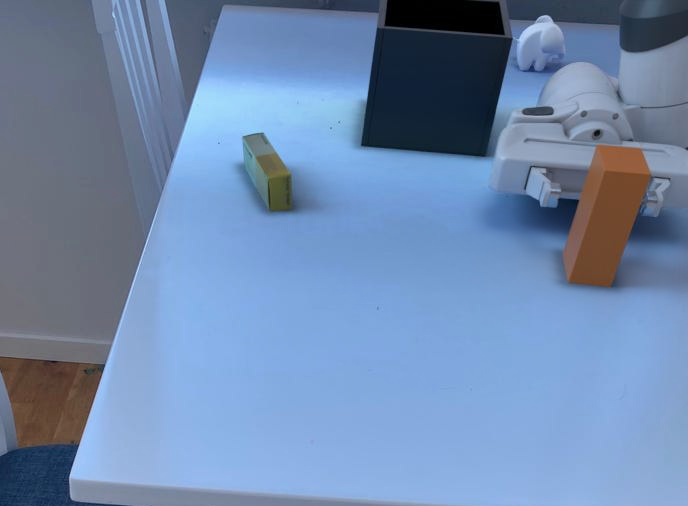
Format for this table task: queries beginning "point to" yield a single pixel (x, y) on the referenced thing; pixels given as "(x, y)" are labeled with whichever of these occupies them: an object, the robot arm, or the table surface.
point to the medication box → (267, 172)
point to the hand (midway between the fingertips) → (601, 204)
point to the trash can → (436, 75)
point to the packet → (605, 214)
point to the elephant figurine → (540, 44)
